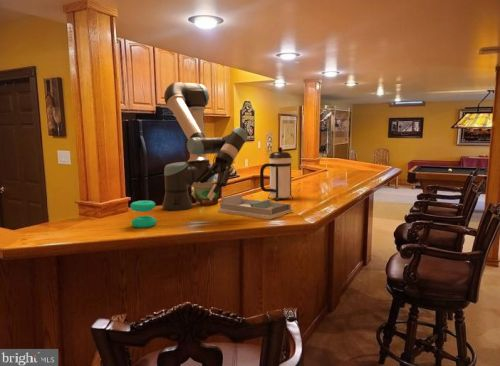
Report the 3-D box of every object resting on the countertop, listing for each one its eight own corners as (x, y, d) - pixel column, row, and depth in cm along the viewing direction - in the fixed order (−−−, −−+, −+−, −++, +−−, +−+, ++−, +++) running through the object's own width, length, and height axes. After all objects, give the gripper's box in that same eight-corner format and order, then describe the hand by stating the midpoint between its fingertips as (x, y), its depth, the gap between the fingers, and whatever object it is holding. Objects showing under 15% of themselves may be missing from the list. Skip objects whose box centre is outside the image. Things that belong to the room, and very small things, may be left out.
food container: (196, 208, 152) (195, 184, 150) (192, 205, 157) (192, 181, 156) (224, 205, 156) (224, 181, 155) (220, 202, 162) (220, 180, 160)
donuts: (159, 202, 152) (135, 205, 146) (160, 225, 154) (137, 229, 147) (149, 199, 160) (126, 201, 154) (150, 221, 161) (127, 225, 155)
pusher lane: (218, 211, 180) (217, 198, 179) (243, 205, 196) (243, 193, 195) (268, 219, 162) (268, 204, 161) (292, 211, 177) (292, 198, 176)
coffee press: (272, 196, 224) (271, 146, 220) (297, 198, 217) (297, 146, 213) (259, 201, 209) (259, 147, 205) (286, 202, 202) (286, 147, 198)
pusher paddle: (242, 209, 174) (242, 202, 174) (259, 205, 185) (259, 198, 185) (253, 211, 171) (253, 203, 170) (269, 206, 181) (269, 199, 181)
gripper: (248, 163, 160) (224, 205, 150) (213, 160, 173) (188, 199, 163) (241, 151, 155) (215, 194, 145) (204, 150, 168) (179, 189, 158)
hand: (201, 197), depth 154 cm, fingers closed on food container, 8 cm apart
